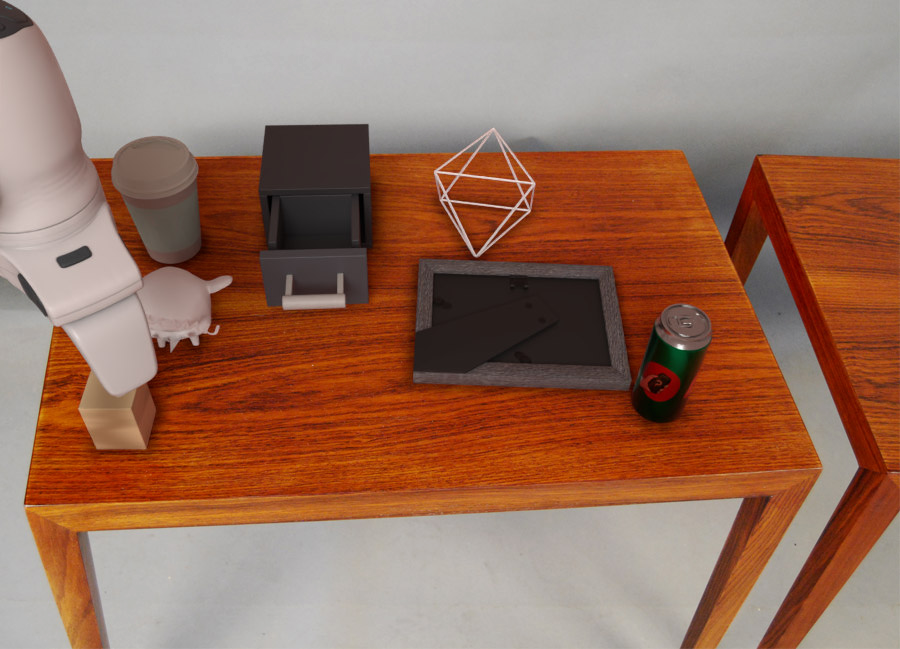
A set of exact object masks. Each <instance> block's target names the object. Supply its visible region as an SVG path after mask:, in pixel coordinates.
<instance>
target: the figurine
mask: <svg viewBox="0 0 900 649" xmlns="http://www.w3.org/2000/svg"><path fill="white" fill-rule="evenodd" d="M142 278H143V282H144V286H143V288H142V289H140V290H138V291H137V294H138V296H139V299H140V301H141V303H142V306H143V308H144V311H145V314H146V318H147V321H148V325H149V329H150V333H151V337H152V339H156V341H157V344H158V347H159V348H165V347H166V343H169V348H170V350H169V351H170V353H172V352H173V350H174V349H175V348H176V346H177V345H178V344H179V342H180V340H185V339H190V341H191V344H192V345H193V346H196V347H197V346H199V345H200V337H199V336H200V335H202V334H208V335H210V336H216V335H217V334H218V333H219V330H220V327H221V325H218V324H216V326H215V329H214V332H209V331H208V330H209V328H210V327H211V325H212V298H211V294H214V293H217V292H219V291H221V290H223V289H225V288H227V287H228V286H230V285H231V284H232V282H233V278H234V277H233V276H231V275H220V276H218V277H216V278H213V279H211V280H205V279H202V278H200V277H199V276H197V275H195V274H192V273H191V272H189V271H188V270H186V269H183V268H180V267H176V266H164V267H160V268H158V269H155V270H153V271H151V272H149V273H147V274H146V275H144V276H142Z"/></svg>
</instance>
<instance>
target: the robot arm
mask: <svg viewBox="0 0 900 649" xmlns="http://www.w3.org/2000/svg"><path fill="white" fill-rule="evenodd" d="M55 54H56V53H54V51H53V48H52V46H51V45H50V43H49V40H48V39H47V37H46V35H45V34H44V32H43V31H42V29H41V28H40V27H39V25H38V24H37V23H36V22H35V21H34V19H32V18H31V17H30V16H29V15H28V14H27V13H25V12H24V11H23V10H21V9H20V8H19V7H16V6H15V5H13V4H11V3H9V2H8V1H5V0H0V277H1V278H4V279H6V280H7V281H8V283H10V284H11V285H13V286H14V287H15V288H16V289H17V290H19V291H21V292H22V293H23V294H25V295H26V297H28V299H29V300H30V301H31V302H32V303H33V304H34V305H35V306H36V307H37V308H38V310H39V311H40V312H41V314H43V316H44V317H45V318H47V319H48V321H49V322H50V323H51V325H53V327H56V328H60V327H61V329H63V331H64V332H65V333H66V335H67V336H68V338H69V339H70V340H71V342H72V343H73V345H74V346H75V348H76V349H77V350H78V351H79V353H80V354H81V357H83V359H84V361H85V362H86V363H87V365H88V367H89V368H90V370H91V369H92V371H93V372H94V374H95V375H96V377H97V379H98V380H99V382H100V383H101V384H102V386H103V387H104V389H105V390H106V391H107V392H108V393H109V394H110V395H112V396H116V397H121V396H123V395H125V394H127V393H129V392H131V391H133V390H134V389H136V388H138V387H139V386H141V385H143V384H145V383H146V382H147V383H148V382H149V381H151V380H153V379H154V378H155V376H156V375H157V373H158V370H159V367H158V365H159V364H158V359H157V354H156V350H155V346H154V341H153V338H152V337H151V333H150V329H149V325H148V321H147V318H146V314H145V311H144V308H143V306H142V303H141V301H140V299H139V296H138V294H137V291H138V290H140V289H142V288H143V286H144V282H143V275H142V272H141V270H140V268H139V266H138V264H137V262H136V260H135V258H134V256H133V254H132V253H131V251H130V249H129V248H128V246H127V244H126V243H125V241H124V239H123V237H122V236H121V233H120V232H119V231H118V227H117V224H116V221H115V217H114V214H113V211H112V208H111V206H110V204H109V203H108V200H107V198H106V194H105V191H104V189H103V185H102V183H101V179H100V176H99V173H98V170H97V168H96V166H95V164H94V162H93V161H92V160H91V159H90V157H89V156H88V154H87V153H86V152H85V150H84V148H83V143H82V135H83V130H82V122H81V119H80V116H79V113H78V110H77V107H76V104H75V102H74V98H73V95H72V93H71V90H70V87H69V85H68V82H67V80H66V78H65V75H64V72H63V70H62V68H61V66H60V63H59V61H58V59H57V57H56V55H55Z"/></svg>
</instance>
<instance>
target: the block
mask: <svg viewBox="0 0 900 649" xmlns="http://www.w3.org/2000/svg"><path fill="white" fill-rule="evenodd" d="M77 409H78V412H79V414H80V416H81V418H82V420H83V422H84V424H85V426H86V429H87V431H88V433H89V435H90V438H91V440H92V442H93V445H94V447H95V449H96V450H147V449H148V445H149V442H150V437H151V434H152V433H151V432H152V428H153V426H154V420H155V417H156V413H157V408H156V405H155V402H154V400H153V397H152V393H151V391H150V388H149V385H148V382H146V383H145V384H143V385H141V386H139V387H138V388H136V389H134V390H133V391H131V392H129V393H127V394H125V395H123V396H121V397H116V396H112V395H110V394H109V393H108V392H107V391H106V390H105V389H104V387H103V386H102V384H101V383H100V382H99V380H98V379H97V377H96V375H95V374H94V372H93V371H92V369H91V368H90V372H89V375H88V377H87V381H86V384H85V387H84V390H83V393H82V397H81V399H80V402H79V405H78V408H77Z"/></svg>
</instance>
